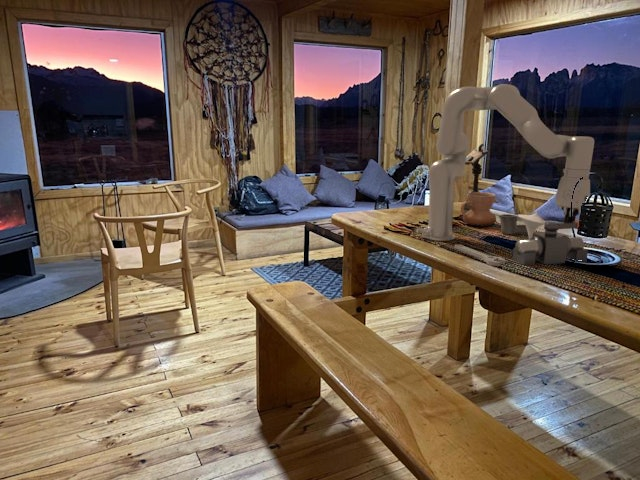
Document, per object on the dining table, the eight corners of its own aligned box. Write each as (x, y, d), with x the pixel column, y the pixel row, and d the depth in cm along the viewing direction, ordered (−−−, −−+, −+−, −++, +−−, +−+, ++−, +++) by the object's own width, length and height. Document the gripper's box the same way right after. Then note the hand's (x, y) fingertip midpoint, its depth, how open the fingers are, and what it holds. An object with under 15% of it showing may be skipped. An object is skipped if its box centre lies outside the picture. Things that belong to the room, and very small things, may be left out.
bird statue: (464, 216, 237) (469, 144, 228) (449, 211, 249) (453, 142, 240) (492, 214, 242) (498, 143, 233) (476, 209, 254) (481, 141, 245)
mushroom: (540, 238, 193) (543, 209, 190) (547, 245, 183) (550, 214, 180) (513, 237, 195) (516, 208, 192) (518, 244, 185) (521, 214, 182)
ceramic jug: (488, 220, 227) (491, 190, 224) (504, 227, 213) (507, 195, 210) (452, 222, 225) (454, 192, 221) (465, 229, 211) (468, 197, 207)
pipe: (531, 236, 197) (533, 217, 195) (498, 235, 200) (499, 216, 198) (528, 233, 203) (530, 214, 201) (496, 231, 206) (498, 213, 204)
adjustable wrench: (452, 248, 183) (452, 244, 182) (467, 247, 184) (467, 242, 184) (492, 267, 159) (493, 262, 159) (509, 265, 161) (510, 260, 161)
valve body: (524, 265, 160) (527, 234, 157) (511, 258, 167) (514, 228, 165) (587, 261, 163) (591, 230, 160) (572, 255, 171) (575, 225, 168)
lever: (549, 231, 160) (549, 224, 159) (541, 228, 164) (542, 221, 164) (594, 228, 162) (595, 222, 162) (585, 226, 167) (586, 219, 166)
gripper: (550, 171, 167) (543, 222, 172) (587, 177, 154) (578, 232, 159) (566, 170, 170) (559, 221, 175) (604, 176, 157) (595, 230, 162)
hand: (568, 226), depth 167 cm, fingers closed
